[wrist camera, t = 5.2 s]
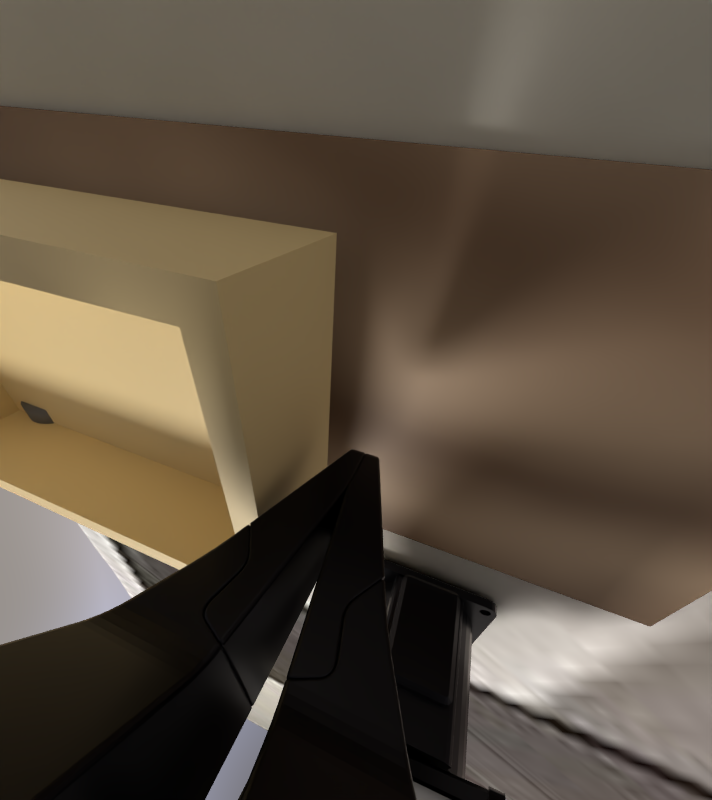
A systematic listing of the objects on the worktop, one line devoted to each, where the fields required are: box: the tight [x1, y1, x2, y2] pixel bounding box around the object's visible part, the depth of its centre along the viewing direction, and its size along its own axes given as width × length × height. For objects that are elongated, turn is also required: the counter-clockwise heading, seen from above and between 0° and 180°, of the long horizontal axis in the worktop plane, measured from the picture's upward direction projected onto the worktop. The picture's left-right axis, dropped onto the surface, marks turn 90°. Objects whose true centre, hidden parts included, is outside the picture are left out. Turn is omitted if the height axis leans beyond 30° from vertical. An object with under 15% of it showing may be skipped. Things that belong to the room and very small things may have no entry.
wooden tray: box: [0, 179, 337, 570], centre depth 11 cm, size 11×17×5 cm, turn 86°
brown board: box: [0, 106, 712, 626], centre depth 12 cm, size 14×32×1 cm, turn 86°
